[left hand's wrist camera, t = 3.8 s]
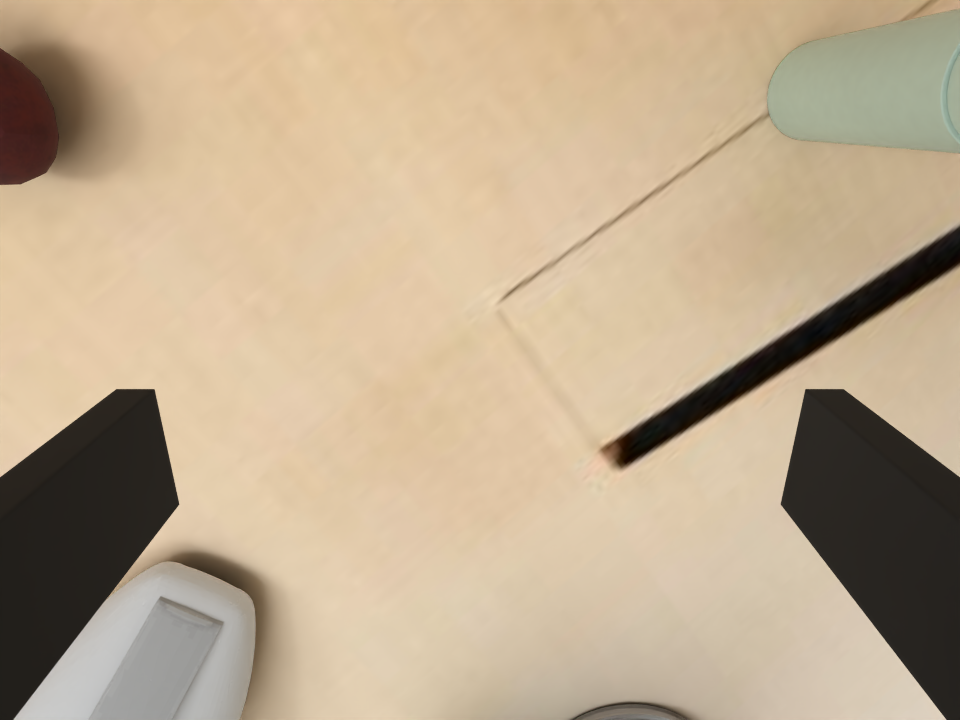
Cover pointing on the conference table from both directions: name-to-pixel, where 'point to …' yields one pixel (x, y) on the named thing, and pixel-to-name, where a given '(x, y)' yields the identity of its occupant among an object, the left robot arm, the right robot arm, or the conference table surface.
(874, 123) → the bottle
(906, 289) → the conference table surface
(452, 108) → the conference table surface
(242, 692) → the projector
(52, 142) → the dark maroon ball
